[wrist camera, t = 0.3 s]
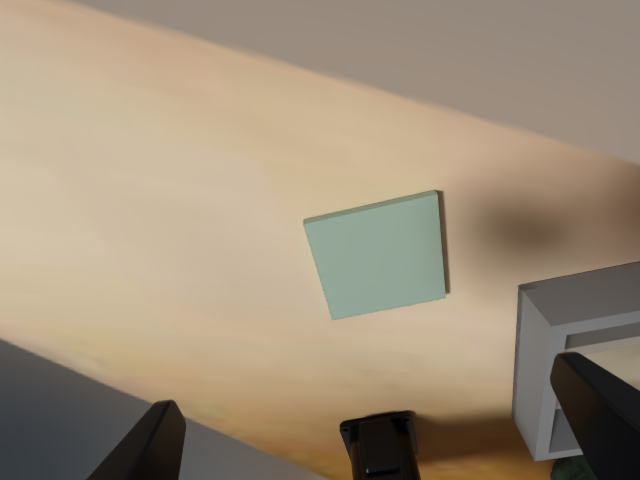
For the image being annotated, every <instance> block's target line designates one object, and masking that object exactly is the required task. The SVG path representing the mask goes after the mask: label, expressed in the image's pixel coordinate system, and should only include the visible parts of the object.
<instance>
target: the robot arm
mask: <svg viewBox="0 0 640 480" xmlns="http://www.w3.org/2000/svg"><path fill="white" fill-rule="evenodd" d="M550 383H551V386H552V389H553V391H554V393H555V395H556V397H557V400H558V402H559V404H560V406H561V408H562V410H563V412H564V415H565V417H566V419H567V421H568V423H569V425H570V427H571V430H572V432H573V434H574V436H575V438H576V440H577V442H578V445H579V447H580V449H581V451H582V453H583V455H584V456H585V458H586V460H587V462H588V464H589V465H590V467H591V469H592V471H593V472H594V474H595V476H596V477H597V479H598V480H640V390H638V389H636V388H635V387H633V386H632V385H630V384H628V383H627V382H625V381H624V380H622V379H620V378H619V377H617V376H616V375H614V374H612V373H611V372H609V371H607V370H606V369H604V368H603V367H601V366H599V365H598V364H596V363H595V362H593V361H591V360H590V359H588V358H587V357H585V356H583V355H582V354H580V353H578V352H563V353H558V354H556V355H555V358H554V362H553V365H552V369H551V373H550ZM185 431H186V422H185V418H184V416H183V415H182V413H181V411H180V409H179V408H178V406H177V404H176V402H175V401H174V400H162V401H157V402H155V403H154V404H153V405H152V406H151V407H150V408H149V409H148V411H147V412H146V413H145V414H144V415H143V416H142V417H141V418H140V419H139V421H138V422H137V423H136V424H135V425H134V426H133V427H132V428H131V429H130V431H129V432H128V433H127V434H126V435H125V436H124V437H123V438H122V440H121V441H120V442H119V443H118V444H117V445H116V446H115V447H114V448H113V450H112V451H111V452H110V453H109V454H108V455H107V456H106V457H105V459H104V460H103V461H102V462H101V463H100V464H99V465H98V466H97V468H96V469H95V470H94V471H93V472H92V473H91V474H90V475H89V476H88V478H87V479H86V480H178V479H179V472H180V465H181V459H182V452H183V445H184V438H185ZM340 432H341V435H342V438H343V441H344V443H345V446H346V449H347V452H348V454H349V457H350V460H351V464H352V475H353V480H421V477H420V473H419V469H418V465H417V461H416V456H415V455H417V454H418V449H417V444H416V438H415V433H414V427H413V422H412V417H411V414H410V413H407V412H405V413H399V414H392V415H386V416H380V417H374V418H368V419H362V420H356V421H350V422H344V423H341V424H340Z"/></svg>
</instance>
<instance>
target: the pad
mask: <svg viewBox="0 0 640 480" xmlns="http://www.w3.org/2000/svg"><path fill="white" fill-rule="evenodd" d="M303 225H304V228H305V232H306V235H307V238H308V242H309V245H310V248H311V252H312V255H313V258H314V261H315V265H316V268H317V271H318V275H319V278H320V281H321V285H322V288H323V291H324V295H325V298H326V301H327V304H328V308H329V311H330V314H331V318H332V320H337V319H342V318H347V317H352V316H357V315H362V314H367V313H373V312H378V311H383V310H388V309H393V308H398V307H403V306H408V305H413V304H419V303H424V302H429V301H434V300H439V299H444V298H446V294H445V281H444V269H443V256H442V244H441V231H440V219H439V206H438V194H437V193H436V191H435V190H433V191H428V192H424V193H419V194H415V195H410V196H406V197H402V198H397V199H393V200H388V201H384V202H379V203H375V204H371V205H366V206H362V207H357V208H353V209H348V210H344V211H340V212H335V213H331V214H326V215H322V216H318V217H313V218H309V219H304V220H303Z"/></svg>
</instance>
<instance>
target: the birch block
mask: <svg viewBox="0 0 640 480" xmlns="http://www.w3.org/2000/svg"><path fill="white" fill-rule="evenodd" d="M583 356H585V357H587V358H588V359H590V360H591V361H593V362H595V363H596V364H598V365H599V366H601V367H603V368H604V369H606V370H607V371H609V372H611V373H612V374H614V375H616V376H617V377H619V378H620V379H622V380H624V381H625V382H627V383H628V384H630V385H632V386H633V387H635V388H636V389H638V390H640V346H635V347H629V348H624V349H618V350H612V351H606V352H601V353H595V354H589V355H583Z"/></svg>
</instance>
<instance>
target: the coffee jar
mask: <svg viewBox="0 0 640 480" xmlns="http://www.w3.org/2000/svg"><path fill="white" fill-rule="evenodd" d="M550 478H551V480H598V479H597V477H596V476H595V474H594V472H593V471H592V469H591V467H590V465H589V464H588V462H587V460H586V458H585V456H584V455H576V456H569V457H562V458H560V460H559V461H558V462H557V463H556V464H555V466H554V468H553V470H552V472H551V476H550Z"/></svg>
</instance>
